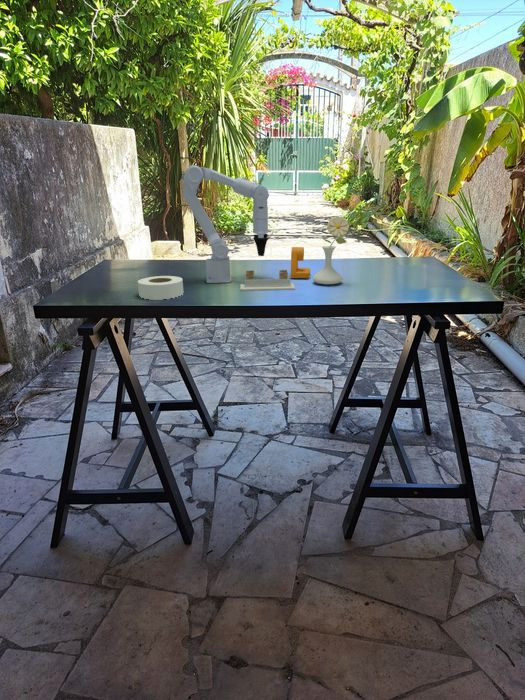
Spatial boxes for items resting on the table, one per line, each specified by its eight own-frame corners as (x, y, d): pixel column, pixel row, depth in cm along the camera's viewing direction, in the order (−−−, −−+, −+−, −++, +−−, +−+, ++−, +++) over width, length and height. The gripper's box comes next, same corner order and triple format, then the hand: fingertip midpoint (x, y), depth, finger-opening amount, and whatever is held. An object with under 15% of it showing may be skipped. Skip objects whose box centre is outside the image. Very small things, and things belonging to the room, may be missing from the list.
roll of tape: (142, 290, 178) (141, 275, 176) (185, 289, 179) (184, 274, 177) (135, 301, 163) (133, 285, 161) (181, 300, 164) (180, 284, 162)
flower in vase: (309, 285, 180) (310, 217, 171) (316, 279, 190) (318, 214, 181) (343, 287, 176) (346, 217, 167) (349, 281, 186) (352, 214, 177)
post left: (246, 284, 184) (245, 273, 183) (246, 281, 189) (246, 270, 187) (253, 283, 184) (253, 273, 183) (254, 281, 189) (253, 270, 187)
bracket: (308, 279, 189) (309, 249, 185) (290, 279, 191) (290, 249, 186) (310, 274, 199) (310, 245, 195) (292, 274, 200) (293, 245, 196)
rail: (244, 287, 177) (244, 280, 176) (244, 285, 179) (244, 279, 178) (290, 286, 177) (290, 279, 176) (290, 284, 179) (290, 278, 178)
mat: (240, 290, 174) (240, 289, 174) (240, 285, 182) (240, 284, 181) (295, 289, 174) (295, 288, 174) (293, 284, 182) (293, 283, 182)
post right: (279, 283, 184) (279, 272, 183) (279, 280, 189) (279, 270, 187) (287, 283, 184) (287, 272, 183) (286, 280, 189) (286, 269, 187)
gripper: (271, 220, 177) (271, 257, 182) (270, 216, 190) (270, 251, 195) (252, 220, 177) (253, 257, 182) (252, 217, 190) (253, 251, 195)
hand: (261, 254), depth 188 cm, fingers open, 7 cm apart
